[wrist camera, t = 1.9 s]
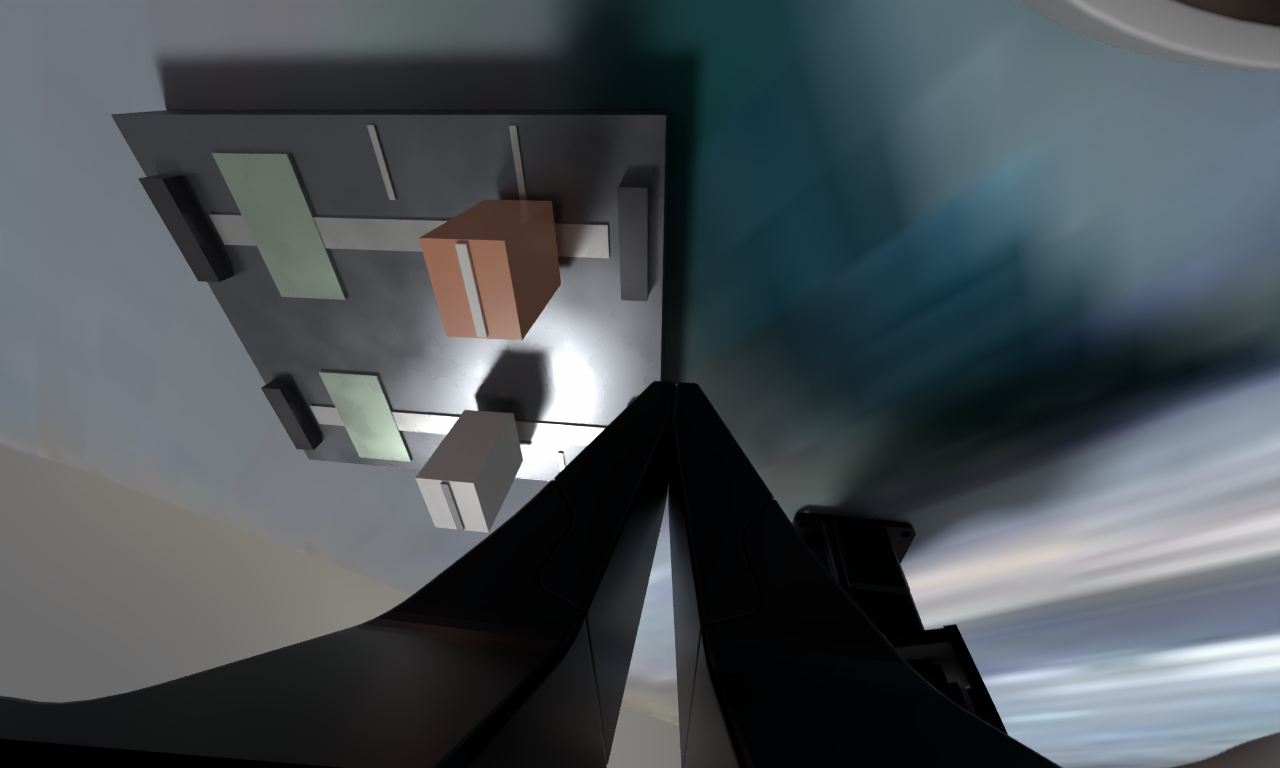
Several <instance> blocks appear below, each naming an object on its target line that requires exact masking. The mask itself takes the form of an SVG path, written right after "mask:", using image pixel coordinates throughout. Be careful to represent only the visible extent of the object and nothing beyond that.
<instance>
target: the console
mask: <svg viewBox="0 0 1280 768" xmlns="http://www.w3.org/2000/svg"><path fill="white" fill-rule="evenodd" d="M111 116H112V117H113V119H114V121H115V122H116V124H117V126H118V128H119V129H120V131H121V133H122V135H123V136H124V138H125V140H126V142H127V143H128V145H129V147H130V149H131V150H132V152H133V154H134V156H135V157H136V159H137V161H138V162H139V164H140V166H141V168H142V169H143V171H144V173H145V175H146V176H147V177H144V178H139V181H140V182H141V184H142V186H143V187H144V189H145V191H146V192H147V194H148V196H149V198H150V199H151V201H152V203H153V204H154V206H155V208H156V210H157V211H158V213H159V215H160V216H161V218H162V220H163V222H164V223H165V225H166V227H167V228H168V230H169V232H170V233H171V235H172V237H173V239H174V240H175V242H176V244H177V245H178V247H179V249H180V251H181V252H182V254H183V256H184V257H185V259H186V261H187V262H188V264H189V266H190V268H191V269H192V271H193V273H194V274H195V276H196V278H197V280H198V281H206V282H208V284H209V286H210V288H211V289H212V291H213V293H214V295H215V296H216V298H217V300H218V302H219V303H220V305H221V307H222V309H223V310H224V312H225V314H226V315H227V317H228V319H229V321H230V322H231V324H232V326H233V328H234V329H235V331H236V333H237V335H238V336H239V338H240V340H241V342H242V343H243V345H244V347H245V349H246V350H247V352H248V354H249V355H250V357H251V359H252V361H253V362H254V364H255V366H256V368H257V369H258V371H259V373H260V375H261V376H262V378H263V380H264V382H265V383H266V385H265V386H263V387H262V388H261V389H262V390H263V392H264V394H265V396H266V397H267V399H268V401H269V402H270V404H271V406H272V408H273V409H274V411H275V413H276V414H277V416H278V418H279V419H280V421H281V423H282V425H283V426H284V428H285V430H286V431H287V433H288V435H289V437H290V438H291V440H292V442H293V443H294V445H295V447H296V448H297V449H304V451H305V453H306V455H307V456H308V458H309V459H311V460H322V461H333V462H345V463H356V464H367V465H378V466H389V467H400V468H411V469H422V468H423V467H424V465H425V464H426V463H427V461H428V460H429V459H430V457H431V456H432V454H433V453H434V452H435V450H436V449H437V447H438V446H439V445H440V443H441V442H442V440H443V439H444V438H445V436H446V435H447V434H448V432H449V431H450V429H451V428H452V427H453V425H454V424H455V422H456V421H457V420H458V418H459V417H460V415H461V414H462V413H463V411H464V410H474V411H487V412H501V413H513V414H514V419H515V423H516V428H517V433H518V438H519V442H520V447H521V452H522V457H523V462H522V464H521V466H520V468H519V470H518V472H517V474H516V477H515V478H522V479H534V480H545V481H551V480H554V478H555V476H556V475H557V474H558V473H560V472H561V471H562V470H563V469H564V468H565V467H566V466H567V465H568V464H569V463H570V462H571V461H572V460H573V459H574V458H575V457H576V456H577V455H578V454H579V453H580V452H581V451H582V450H583V449H584V448H585V447H586V446H587V445H588V444H589V443H590V442H591V441H592V440H593V439H594V438H595V437H596V436H598V435H599V434H600V433H601V432H602V431H603V430H604V429H605V428H606V427H607V426H608V425H609V424H610V423H611V422H612V421H613V420H614V419H615V418H616V417H617V416H618V415H619V414H620V413H621V412H622V411H623V410H624V409H625V408H626V407H627V406H628V405H629V404H630V403H631V402H632V401H633V400H635V399H636V398H637V397H638V396H639V395H640V394H641V393H642V392H643V391H644V390H645V389H646V388H647V387H648V386H649V385H650V384H651V383H652V382H654V381H664V345H665V306H666V266H667V227H668V187H669V148H670V110H164V111H151V112H138V113H125V114H112V115H111ZM483 200H526V201H552V207H553V216H554V225H555V234H556V243H557V252H558V261H559V270H560V279H561V285H560V287H559V288H558V289H557V291H556V292H555V294H554V295H553V297H552V298H551V300H550V301H549V302H548V304H547V305H546V307H545V308H544V310H543V311H542V313H541V314H540V316H539V317H538V318H537V320H536V321H535V323H534V324H533V326H532V327H531V329H530V330H529V331H528V333H527V334H526V336H525V337H524V339H523V340H522V341H519V340H501V339H483V338H465V337H447V336H446V333H445V329H444V326H443V322H442V319H441V315H440V312H439V308H438V304H437V301H436V297H435V294H434V290H433V287H432V283H431V280H430V276H429V273H428V269H427V265H426V262H425V258H424V255H423V251H422V248H421V244H420V241H419V238H420V237H421V236H423V235H425V234H427V233H428V232H430V231H432V230H433V229H435V228H437V227H439V226H440V225H442V224H444V223H445V222H447V221H449V220H451V219H452V218H454V217H456V216H457V215H459V214H461V213H463V212H464V211H466V210H468V209H469V208H471V207H473V206H475V205H476V204H478V203H480V202H481V201H483Z"/></svg>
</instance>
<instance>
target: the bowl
mask: <svg viewBox="0 0 1280 768" xmlns="http://www.w3.org/2000/svg"><path fill="white" fill-rule="evenodd" d="M1019 1H1020V2H1022V3H1023V4H1025V5H1027V6H1028V7H1030V8H1031V9H1033V10H1035V11H1036V12H1038V13H1040V14H1041V15H1043V16H1045V17H1047V18H1049V19H1051V20H1053V21H1055V22H1057V23H1059V24H1061V25H1063V26H1065V27H1067V28H1069V29H1071V30H1073V31H1075V32H1078V33H1080V34H1082V35H1085V36H1087V37H1090V38H1093V39H1096V40H1098V41H1101V42H1104V43H1106V44H1109V45H1112V46H1114V47H1118V48H1121V49H1125V50H1129V51H1133V52H1137V53H1140V54H1144V55H1148V56H1152V57H1156V58H1160V59H1164V60H1170V61H1176V62H1182V63H1188V64H1193V65H1199V66H1206V67H1217V68H1228V69H1240V70H1252V71H1280V0H1019Z"/></svg>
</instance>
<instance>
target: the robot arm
mask: <svg viewBox="0 0 1280 768" xmlns="http://www.w3.org/2000/svg"><path fill="white" fill-rule="evenodd" d="M668 485H669V490H668ZM667 493H668V508H669V528H670V548H671V568H672V588H673V608H674V628H675V648H676V668H677V688H678V708H679V728H680V746H681V747H680V748H681V768H1062V767H1061V766H1059V765H1057V764H1055V763H1054V762H1052V761H1050V760H1049V759H1047V758H1045V757H1044V756H1042V755H1040V754H1039V753H1037V752H1035V751H1034V750H1032V749H1030V748H1029V747H1027V746H1025V745H1024V744H1022V743H1020V742H1018V741H1017V740H1015V739H1013V738H1012V737H1010V736H1008V734H1007V732H1006V729H1005V727H1004V725H1003V723H1002V720H1001V718H1000V716H999V714H998V712H997V709H996V707H995V705H994V703H993V701H992V699H991V697H990V695H989V693H988V690H987V688H986V686H985V684H984V682H983V680H982V678H981V676H980V674H979V672H978V669H977V667H976V665H975V663H974V661H973V659H972V657H971V655H970V653H969V651H968V648H967V646H966V644H965V642H964V640H963V638H962V636H961V634H960V632H959V630H958V627H957V625H956V624H954V625H946V626H943V627H944V628H940V629H931V630H925V629H924V627H923V624H922V622H921V619H920V616H919V614H918V611H917V609H916V606H915V603H914V601H913V598H912V595H911V593H910V588H909V586H908V583H907V580H906V578H905V575H904V573H903V570H902V567H901V565H900V563H901V561H902V559H903V558H904V556H905V554H906V552H907V550H908V548H909V546H910V544H911V542H912V540H913V538H914V537H915V534H916V532H915V530H914V528H913V526H912V525H911V524H910V523H906V522H895V521H884V520H874V519H863V518H852V517H841V516H830V515H819V514H808V513H800V514H797V515H796V516H795V517H794V519H793V523H791V522H790V520H789V519H788V518H787V516H786V515H785V513H784V512H783V510H782V509H781V507H780V506H779V504H778V502H777V501H776V500H774V497H773V495H772V494H771V492H770V491H769V489H768V488H767V486H766V485H765V483H764V482H763V480H762V479H761V477H760V476H759V474H758V473H757V472H756V470H755V469H754V467H753V466H752V464H751V463H750V461H749V460H748V458H747V457H746V455H745V454H744V452H743V451H742V449H741V448H740V446H739V445H738V443H737V442H736V440H735V439H734V437H733V436H732V434H731V433H730V431H729V430H728V428H727V427H726V425H725V424H724V422H723V421H722V419H721V418H720V416H719V415H718V413H717V412H716V410H715V409H714V407H713V406H712V404H711V403H710V401H709V400H708V398H707V397H706V395H705V394H704V392H703V391H702V389H701V388H700V386H699V385H698V384H696V383H681V382H679V383H677V384H676V386H675V384H674V383H673V382H666V381H654V382H652V383H651V384H650V385H649V386H648V387H647V388H646V389H645V390H644V391H643V392H642V393H641V394H640V395H639V396H638V397H637V398H636V399H635V400H633V401H632V402H631V403H630V404H629V405H628V406H627V407H626V408H625V409H624V410H623V411H622V412H621V413H620V414H619V415H618V416H617V417H616V418H615V419H614V420H613V421H612V422H611V423H610V424H609V425H608V426H607V427H606V428H605V429H604V430H603V431H602V432H601V433H600V434H599V435H598V436H596V437H595V438H594V439H593V440H592V441H591V442H590V443H589V444H588V445H587V446H586V447H585V448H584V449H583V450H582V451H581V452H580V453H579V454H578V455H577V456H576V457H575V458H574V459H573V460H572V461H571V462H570V463H569V464H568V465H567V466H566V467H565V468H564V469H563V470H562V471H561V472H560V473H558V474H557V475H556V476H555V478H554V480H551V481H550V482H549V483H548V484H547V485H546V486H545V487H544V488H543V489H542V490H541V491H540V492H539V493H538V494H537V495H535V496H534V497H533V498H532V499H531V500H530V501H529V502H528V503H527V504H526V505H525V506H523V507H522V508H521V509H520V510H519V511H518V512H517V513H516V514H515V515H513V516H512V517H511V518H510V519H509V520H507V521H506V522H505V523H504V524H502V525H501V526H500V527H499V528H498V529H496V530H495V531H494V532H493V533H491V534H490V535H489V536H488V537H487V538H485V539H484V540H483V541H481V542H480V543H479V544H478V545H476V546H475V547H474V548H472V549H471V550H470V551H469V552H467V553H466V554H465V555H464V556H462V557H461V558H460V559H458V560H457V561H456V562H455V563H453V564H452V565H451V566H449V567H448V568H447V569H446V570H444V571H443V572H442V573H440V574H439V575H438V576H437V577H435V578H434V579H433V580H432V581H430V582H429V583H428V584H426V585H425V586H424V587H423V588H421V589H420V590H419V591H417V592H416V593H415V594H413V595H412V596H411V597H409V598H408V599H406V600H405V601H404V602H402V603H401V604H399V605H397V606H396V607H394V608H393V609H391V610H389V611H388V612H386V613H384V614H382V615H380V616H378V617H376V618H374V619H372V620H370V621H367V622H365V623H362V624H360V625H357V626H354V627H351V628H347V629H344V630H341V631H337V632H334V633H331V634H327V635H324V636H320V637H317V638H314V639H310V640H307V641H304V642H300V643H297V644H294V645H290V646H287V647H283V648H280V649H277V650H273V651H270V652H267V653H263V654H260V655H256V656H253V657H250V658H246V659H243V660H239V661H236V662H233V663H230V664H226V665H223V666H219V667H216V668H213V669H209V670H206V671H202V672H199V673H195V674H192V675H189V676H185V677H182V678H179V679H176V680H172V681H168V682H165V683H162V684H159V685H154V686H151V687H147V688H143V689H139V690H136V691H131V692H128V693H123V694H118V695H113V696H107V697H102V698H97V699H92V700H83V701H74V702H64V703H55V702H54V703H53V702H37V701H30V700H25V699H19V698H12V697H4V696H0V768H606V765H607V764H608V761H609V756H610V752H611V747H612V743H613V738H614V733H615V729H616V725H617V720H618V716H619V711H620V707H621V702H622V698H623V694H624V689H625V685H626V680H627V676H628V671H629V667H630V662H631V658H632V653H633V649H634V644H635V640H636V635H637V631H638V626H639V622H640V617H641V613H642V608H643V604H644V599H645V595H646V590H647V586H648V581H649V577H650V572H651V568H652V563H653V559H654V555H655V550H656V546H657V541H658V537H659V532H660V528H661V523H662V519H663V514H664V510H665V505H666V500H667Z"/></svg>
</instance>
